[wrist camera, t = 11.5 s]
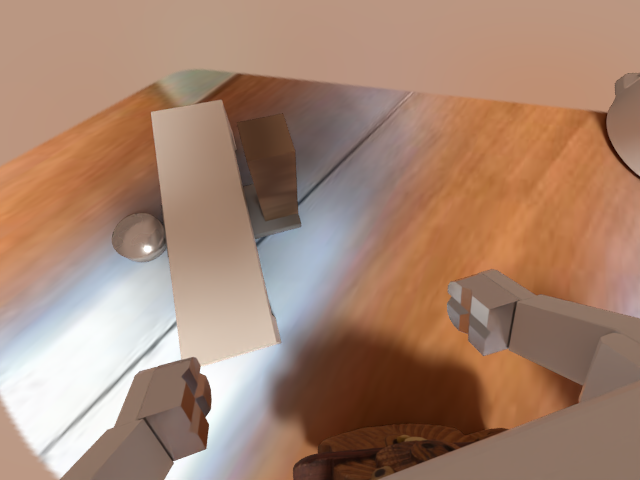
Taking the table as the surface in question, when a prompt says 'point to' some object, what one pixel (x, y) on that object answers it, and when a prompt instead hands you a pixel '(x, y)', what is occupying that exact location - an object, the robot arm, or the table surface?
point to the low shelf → (210, 237)
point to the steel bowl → (139, 237)
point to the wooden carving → (382, 451)
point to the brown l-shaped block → (269, 175)
